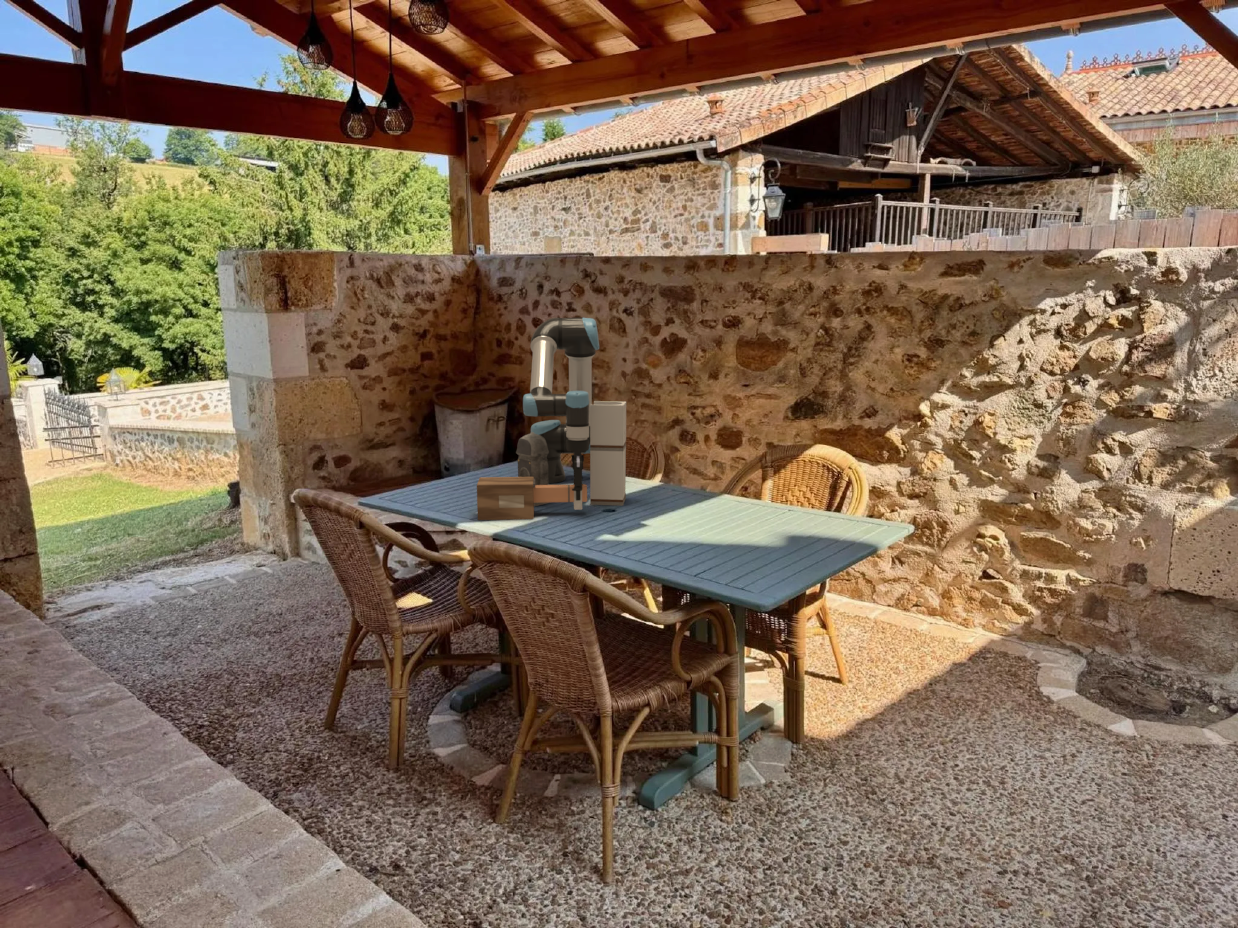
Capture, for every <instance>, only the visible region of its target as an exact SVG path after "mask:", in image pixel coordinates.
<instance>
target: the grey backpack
mask: <svg viewBox="0 0 1238 928" xmlns="http://www.w3.org/2000/svg"><path fill="white" fill-rule="evenodd" d="M516 447H517V448H516V451H515V454H517V455H518V458H517V477H534V479H535V485H549V483H548V462H547V454H548V453H549V451H548V447H547V443H546V440H545V438H543V437H542V436H540V435H538V434H534V432H531V431H530V433H528V434H525V435H523V436H522V437H520V438H519V439H518V442H517V446H516ZM550 503H551V502H541V503H534V507H537V506H542V505H547V504H550Z"/></svg>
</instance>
